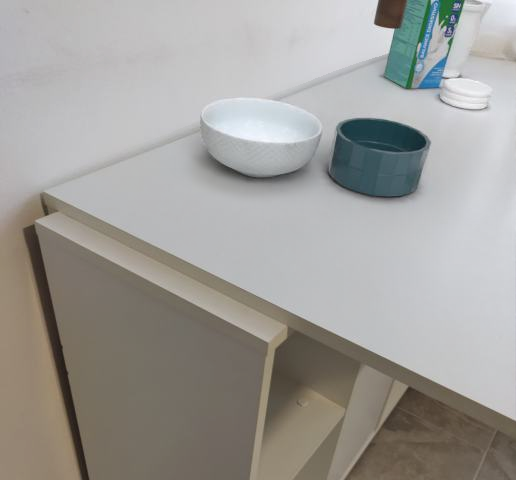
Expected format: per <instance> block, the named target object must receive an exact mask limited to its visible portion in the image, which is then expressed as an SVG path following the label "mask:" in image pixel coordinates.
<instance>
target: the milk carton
mask: <svg viewBox="0 0 516 480" xmlns="http://www.w3.org/2000/svg"><path fill="white" fill-rule="evenodd" d="M464 2H465V0H408V1H407V6H406V10H405V14H404V18H403V22H402V27H401V28H399V29H393V34H392V39H391V42H390V47H389V51H388V56H387V60H386V65H385V68H384V74H383V77H384V78H386V79H388V80H389V81H391V82H394V83H395V84H397V85H399V86H400V87H402V88H404V89H406V90H408V89H409V90H410V89H411V90H412V89H413V90H414V89H433V88H435V89H436V88H440V85H441V81H442V78H443V77H442V75H443V72H444V69H445V65H446V62H447V59H448V55H449V52H450V48H451V45H452V42H453V38H454V35H455V32H456V28H457V25H458V22H459V18H460V15H461V12H462V8H463V5H464Z"/></svg>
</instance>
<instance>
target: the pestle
mask: <svg viewBox="0 0 516 480" xmlns="http://www.w3.org/2000/svg"><path fill="white" fill-rule="evenodd" d="M407 1H408V0H378V1H377V5H376V10H375V15H374V19H373V24H374V25H375V26H377V27H380V28H385V29H392V30H395V29H399V28H401V27H402V22H403V18H404V14H405V10H406V6H407Z"/></svg>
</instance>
